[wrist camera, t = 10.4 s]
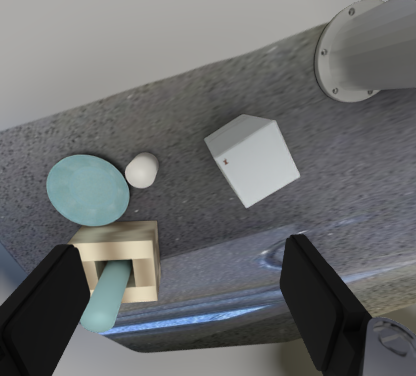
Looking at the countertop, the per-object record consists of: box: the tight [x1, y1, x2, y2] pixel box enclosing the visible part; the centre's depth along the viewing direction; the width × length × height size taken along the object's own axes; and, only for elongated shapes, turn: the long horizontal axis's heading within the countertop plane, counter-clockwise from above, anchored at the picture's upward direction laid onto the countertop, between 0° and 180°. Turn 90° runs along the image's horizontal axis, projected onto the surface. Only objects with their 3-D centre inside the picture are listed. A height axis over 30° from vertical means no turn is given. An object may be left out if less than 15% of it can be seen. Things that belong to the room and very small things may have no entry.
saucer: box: [47, 155, 130, 226], centre depth 35 cm, size 12×12×2 cm
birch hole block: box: [68, 221, 161, 303], centre depth 38 cm, size 12×12×6 cm
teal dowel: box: [81, 259, 133, 333], centre depth 34 cm, size 4×4×14 cm
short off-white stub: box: [125, 152, 159, 188], centre depth 33 cm, size 4×4×5 cm
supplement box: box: [204, 114, 300, 208], centre depth 30 cm, size 7×7×13 cm
